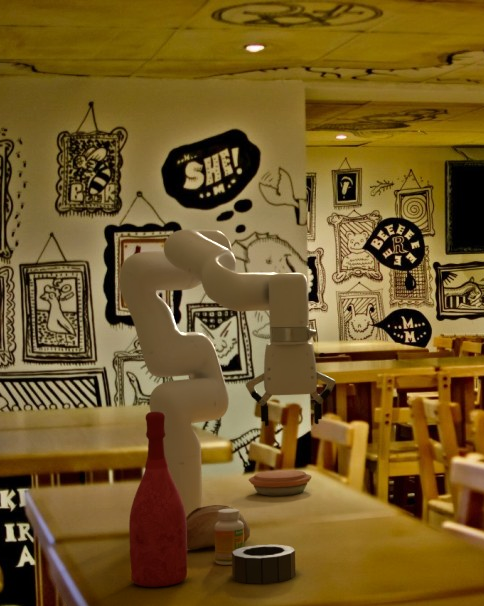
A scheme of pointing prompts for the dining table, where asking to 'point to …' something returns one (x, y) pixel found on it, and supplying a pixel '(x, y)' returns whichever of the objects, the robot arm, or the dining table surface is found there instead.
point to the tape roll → (263, 564)
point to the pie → (280, 482)
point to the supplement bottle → (228, 535)
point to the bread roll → (207, 526)
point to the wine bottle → (157, 518)
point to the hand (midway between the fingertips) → (291, 424)
